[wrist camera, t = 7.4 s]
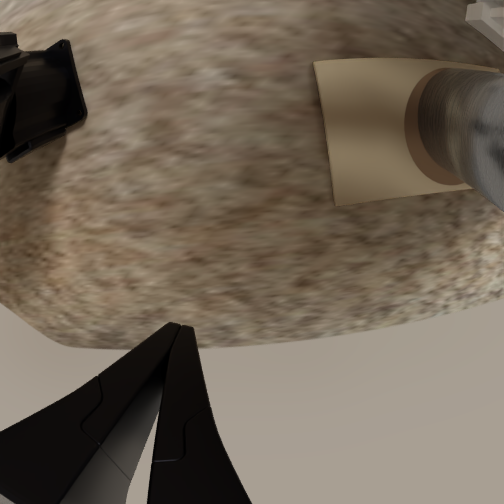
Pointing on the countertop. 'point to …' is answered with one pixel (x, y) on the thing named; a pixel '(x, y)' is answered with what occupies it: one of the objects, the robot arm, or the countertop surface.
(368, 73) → the tan rectangular board
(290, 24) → the countertop surface
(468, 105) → the grey lidded jar
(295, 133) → the countertop surface
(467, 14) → the dollhouse
